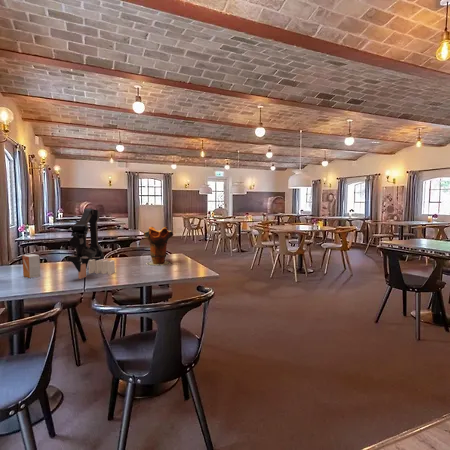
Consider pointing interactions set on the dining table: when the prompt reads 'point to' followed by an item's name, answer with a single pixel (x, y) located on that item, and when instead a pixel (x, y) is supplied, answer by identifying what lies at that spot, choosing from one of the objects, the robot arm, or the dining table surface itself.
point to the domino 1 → (82, 271)
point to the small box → (31, 265)
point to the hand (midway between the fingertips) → (82, 270)
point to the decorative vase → (158, 245)
